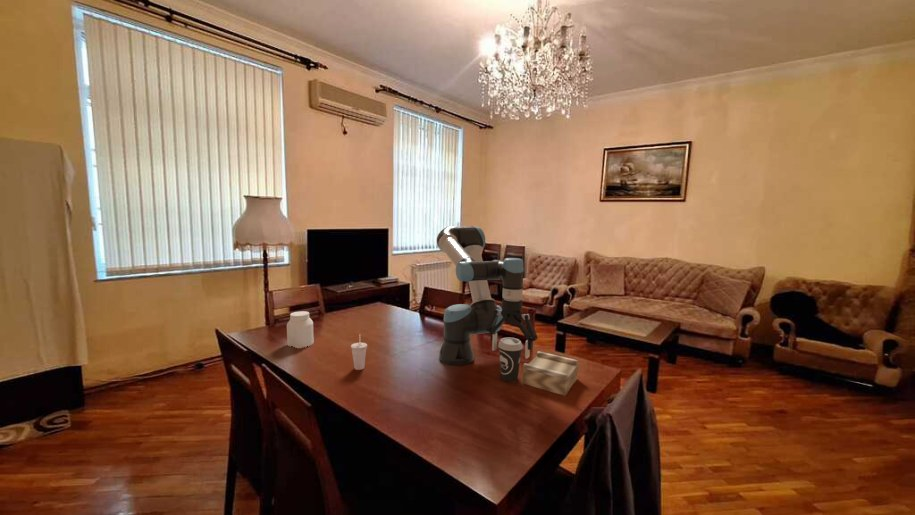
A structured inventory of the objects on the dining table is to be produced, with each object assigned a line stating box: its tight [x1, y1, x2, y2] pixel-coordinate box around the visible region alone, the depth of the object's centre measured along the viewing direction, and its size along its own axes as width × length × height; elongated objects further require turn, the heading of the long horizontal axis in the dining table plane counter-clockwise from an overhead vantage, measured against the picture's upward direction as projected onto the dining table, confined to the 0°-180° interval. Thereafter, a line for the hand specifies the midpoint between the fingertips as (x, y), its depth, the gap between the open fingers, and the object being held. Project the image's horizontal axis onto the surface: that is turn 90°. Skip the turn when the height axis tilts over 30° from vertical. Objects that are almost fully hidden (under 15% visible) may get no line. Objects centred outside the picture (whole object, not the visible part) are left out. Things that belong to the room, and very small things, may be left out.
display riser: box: [522, 351, 579, 397], centre depth 133 cm, size 16×16×8 cm
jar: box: [286, 310, 315, 349], centre depth 165 cm, size 12×10×15 cm
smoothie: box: [350, 333, 368, 371], centre depth 140 cm, size 6×6×14 cm
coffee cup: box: [497, 337, 524, 383], centre depth 134 cm, size 10×10×15 cm
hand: (510, 353), depth 133 cm, fingers open, 13 cm apart
